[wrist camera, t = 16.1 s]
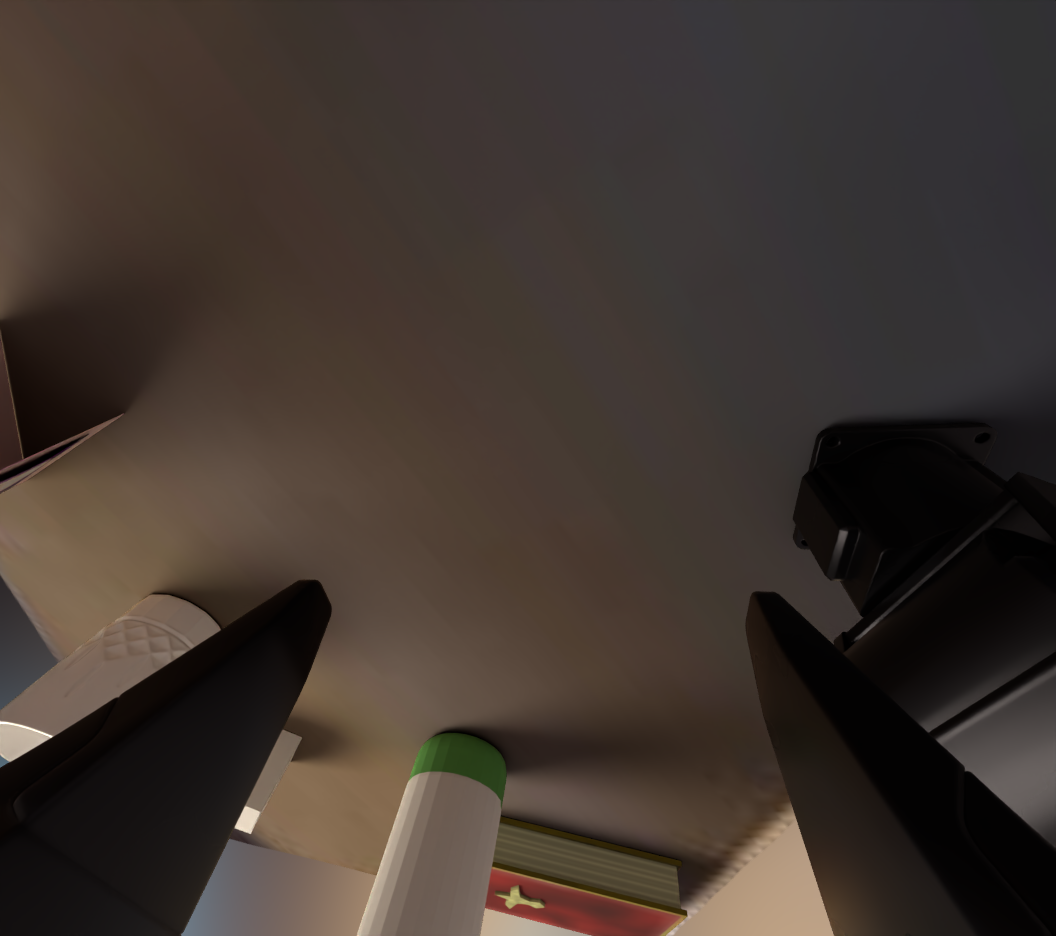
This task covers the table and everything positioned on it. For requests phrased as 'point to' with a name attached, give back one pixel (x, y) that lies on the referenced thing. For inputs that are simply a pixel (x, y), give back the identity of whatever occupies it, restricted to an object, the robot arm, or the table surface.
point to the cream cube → (268, 780)
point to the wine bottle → (440, 843)
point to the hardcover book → (582, 883)
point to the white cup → (103, 670)
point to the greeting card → (3, 453)
